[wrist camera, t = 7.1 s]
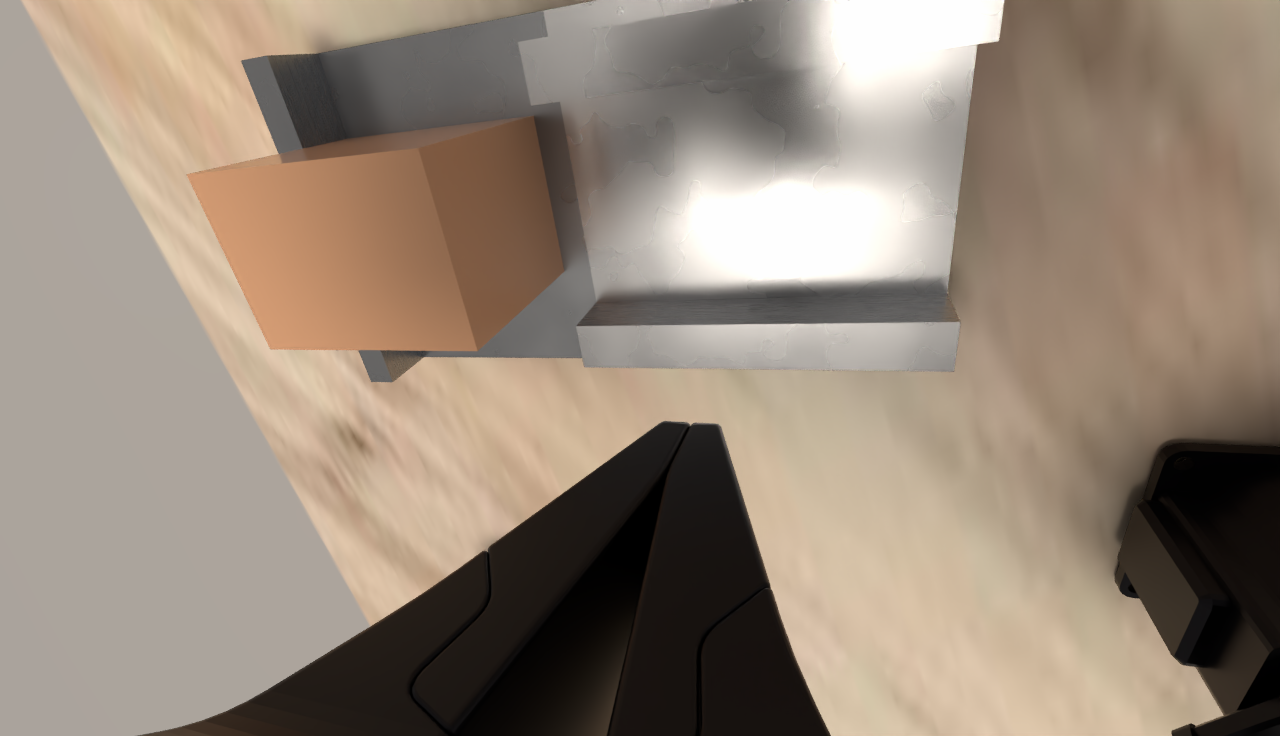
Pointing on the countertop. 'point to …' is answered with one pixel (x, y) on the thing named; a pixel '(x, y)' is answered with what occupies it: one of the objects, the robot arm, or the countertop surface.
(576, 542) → the robot arm
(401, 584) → the countertop surface
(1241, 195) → the countertop surface
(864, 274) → the chute
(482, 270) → the block
